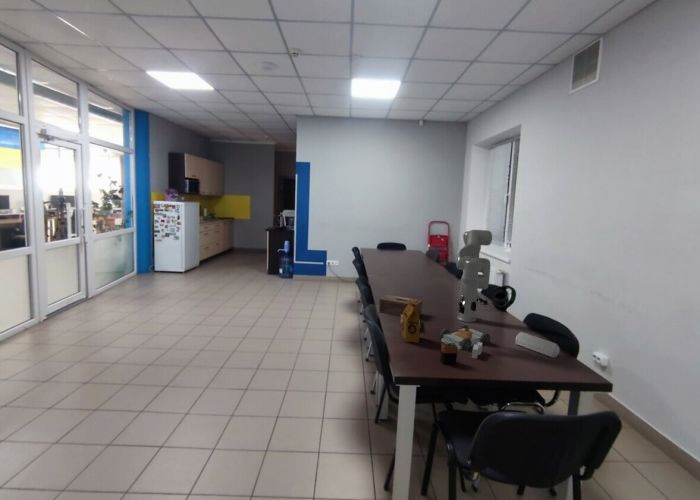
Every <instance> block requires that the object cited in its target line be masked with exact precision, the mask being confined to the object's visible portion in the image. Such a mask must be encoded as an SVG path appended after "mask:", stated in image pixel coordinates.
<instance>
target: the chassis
mask: <svg viewBox="0 0 700 500" xmlns="http://www.w3.org/2000/svg"><path fill="white" fill-rule="evenodd" d="M463 328H467V329H468V330H470V331H472V332H473V333H472V339H469V338H464V339H463V338H460V337H458V334H459V331H456V332H452V333H451V331H450V330H449V329H447V328H442V330H441V331H440V333H439V337H440V338H441V339H440V340H441V342H442V343H445V342H448V343H455V345H457V347H458V348H457V350H463V349H464V350H467V351H468V350H469V349H471V347H474V344H475V345H477V343H478V342H480V343H482V345H488V344H489V343H490V341H491V335H490V334H489V333H487V332H484V333H483V332H480V331H478V330H475V329H473V328H470V327H469V326H468V325H466V324H462V325H461V326H460V327H459V329H463Z"/></svg>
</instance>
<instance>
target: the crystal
mask: <svg viewBox="0 0 700 500" xmlns="http://www.w3.org/2000/svg"><path fill="white" fill-rule="evenodd" d="M515 345H518V346H521V347H523V348H525V349H526V348H527V349H528V350H532V351H535V352H537V353H540V354H542V355H545V356H549V357H550V358H556V357H558V356H559V354H560V346H559V345H558V344H557V343H555V342H552V341H549V340H546V339H543V338H541V337H537V336H534V335H531V334H529V333H525V332H522V331H520V332H519V333H518V334H517V335H516V336H515Z"/></svg>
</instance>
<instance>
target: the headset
mask: <svg viewBox="0 0 700 500" xmlns="http://www.w3.org/2000/svg"><path fill="white" fill-rule="evenodd" d="M509 289H510V291H511V292H510V295H511V296H510V298H509V300H508V301H507V302H506V301H504V300H503V299H506V297H507V296H508V295H507V294H508V293H507V290H509ZM492 294H493V297H494V299H493V301H491V299H489V298H487V299H482V297H479V299H478V302H479V304H481V305H482V304H486V305H487V304H488V300H489V301H491V304H492V305H493V307H494V308H496V309H498V310H506V309H508V308H510V307H511V306H512V305H513V304H514V303H515V301H516V297H517V291H516V289H515V288H514V287H512V286H510V285H508V284H507V285H502V286H497V287H495V288H493V290H492Z"/></svg>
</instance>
